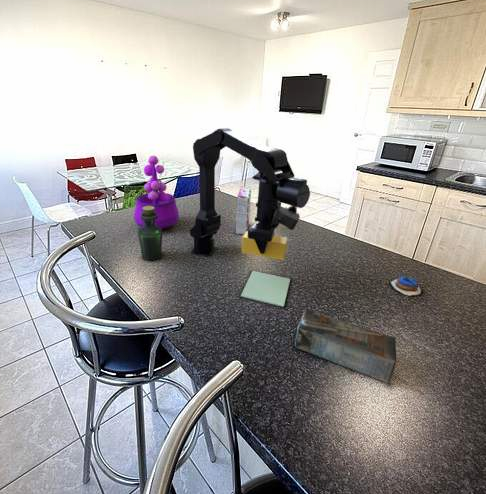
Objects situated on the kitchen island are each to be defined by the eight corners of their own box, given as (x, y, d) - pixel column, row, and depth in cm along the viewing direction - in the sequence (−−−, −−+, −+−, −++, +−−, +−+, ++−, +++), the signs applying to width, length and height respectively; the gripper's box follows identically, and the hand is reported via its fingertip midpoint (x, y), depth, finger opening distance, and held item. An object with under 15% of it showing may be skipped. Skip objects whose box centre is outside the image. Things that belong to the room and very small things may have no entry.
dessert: (405, 295, 83) (402, 274, 84) (387, 295, 89) (385, 275, 91) (429, 295, 84) (426, 274, 85) (410, 295, 91) (407, 275, 92)
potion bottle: (165, 260, 100) (163, 211, 92) (141, 263, 97) (136, 213, 90) (161, 249, 107) (159, 202, 99) (139, 252, 104) (134, 204, 97)
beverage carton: (301, 326, 72) (305, 304, 69) (390, 358, 64) (398, 335, 61) (293, 348, 66) (297, 325, 63) (390, 386, 57) (400, 362, 55)
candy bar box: (237, 223, 130) (240, 188, 123) (249, 224, 129) (251, 189, 123) (234, 234, 120) (236, 195, 113) (246, 235, 119) (249, 197, 113)
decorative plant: (126, 229, 122) (118, 157, 110) (150, 214, 138) (146, 150, 125) (165, 238, 115) (161, 162, 103) (186, 221, 131) (185, 153, 119)
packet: (241, 252, 85) (242, 237, 83) (245, 246, 88) (246, 231, 86) (283, 260, 81) (285, 244, 79) (285, 253, 85) (287, 237, 83)
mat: (240, 296, 82) (240, 295, 82) (252, 271, 94) (252, 270, 94) (283, 307, 78) (283, 306, 78) (290, 279, 90) (290, 278, 90)
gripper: (295, 213, 67) (288, 271, 73) (302, 192, 83) (295, 241, 90) (248, 207, 71) (245, 263, 77) (264, 188, 87) (260, 235, 93)
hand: (263, 249), depth 84 cm, fingers closed on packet, 4 cm apart
